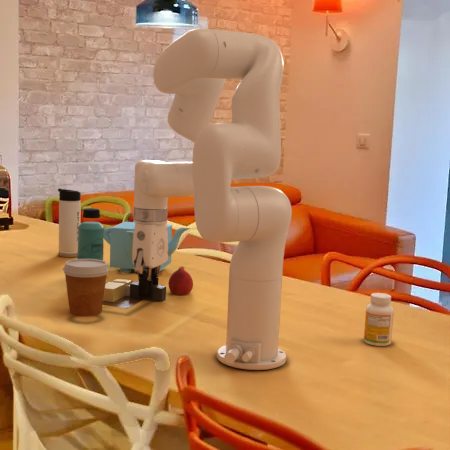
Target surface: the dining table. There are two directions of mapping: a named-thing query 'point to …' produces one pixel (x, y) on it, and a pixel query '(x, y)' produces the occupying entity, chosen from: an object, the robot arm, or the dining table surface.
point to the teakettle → (123, 245)
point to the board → (123, 302)
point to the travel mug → (69, 222)
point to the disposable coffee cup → (85, 285)
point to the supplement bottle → (379, 320)
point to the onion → (180, 282)
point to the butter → (114, 291)
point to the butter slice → (123, 281)
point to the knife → (133, 290)
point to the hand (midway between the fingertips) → (148, 294)
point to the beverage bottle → (90, 236)
